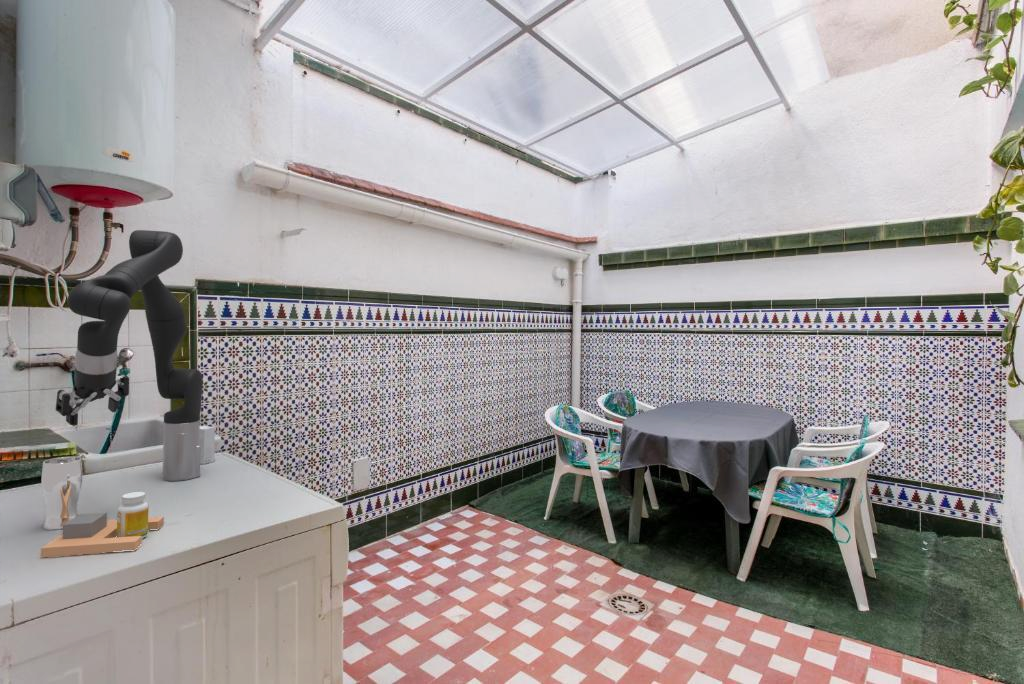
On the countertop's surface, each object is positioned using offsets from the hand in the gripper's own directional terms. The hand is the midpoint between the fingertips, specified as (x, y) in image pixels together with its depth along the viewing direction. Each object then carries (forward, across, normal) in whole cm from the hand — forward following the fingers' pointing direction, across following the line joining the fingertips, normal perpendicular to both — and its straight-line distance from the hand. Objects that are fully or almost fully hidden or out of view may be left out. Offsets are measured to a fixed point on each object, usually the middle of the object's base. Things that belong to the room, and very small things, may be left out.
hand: (93, 417), depth 122 cm
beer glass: (+17, +13, +13) cm, 25 cm away
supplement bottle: (+7, +11, +33) cm, 35 cm away
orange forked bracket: (+8, +14, +29) cm, 33 cm away
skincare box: (+39, -35, -1) cm, 53 cm away
